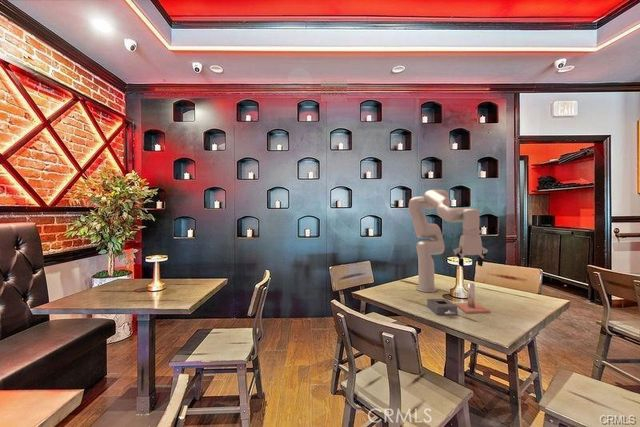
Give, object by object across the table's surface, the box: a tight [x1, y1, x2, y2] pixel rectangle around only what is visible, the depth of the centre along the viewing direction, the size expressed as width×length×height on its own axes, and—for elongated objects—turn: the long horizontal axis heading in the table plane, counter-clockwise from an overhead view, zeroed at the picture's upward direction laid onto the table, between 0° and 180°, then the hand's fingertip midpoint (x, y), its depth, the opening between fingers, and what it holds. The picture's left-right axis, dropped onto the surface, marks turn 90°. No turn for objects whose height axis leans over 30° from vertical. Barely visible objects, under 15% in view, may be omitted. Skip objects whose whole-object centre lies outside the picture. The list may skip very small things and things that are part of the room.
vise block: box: [426, 298, 458, 316], centre depth 144 cm, size 16×10×4 cm, turn 1°
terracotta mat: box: [453, 302, 491, 314], centre depth 147 cm, size 12×12×1 cm
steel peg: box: [467, 282, 476, 308], centre depth 147 cm, size 3×3×12 cm
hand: (470, 266), depth 147 cm, fingers open, 9 cm apart
